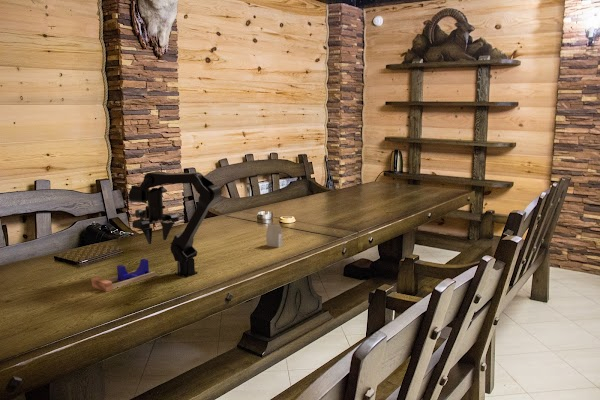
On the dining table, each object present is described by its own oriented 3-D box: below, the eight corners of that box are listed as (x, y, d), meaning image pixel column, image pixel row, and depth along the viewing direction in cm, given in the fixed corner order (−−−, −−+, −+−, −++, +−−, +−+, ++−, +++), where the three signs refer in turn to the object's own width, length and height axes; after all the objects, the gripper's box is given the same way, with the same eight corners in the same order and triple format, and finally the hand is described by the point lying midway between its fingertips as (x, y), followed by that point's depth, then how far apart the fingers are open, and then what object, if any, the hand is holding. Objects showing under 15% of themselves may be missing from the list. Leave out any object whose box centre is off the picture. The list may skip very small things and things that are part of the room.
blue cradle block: (124, 283, 206) (123, 267, 205) (117, 280, 208) (116, 265, 207) (151, 275, 215) (150, 260, 214) (144, 273, 218) (143, 258, 217)
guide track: (156, 275, 214) (156, 268, 213) (106, 291, 196) (106, 283, 196) (142, 271, 219) (141, 264, 219) (92, 286, 201) (91, 278, 201)
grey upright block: (278, 247, 255) (278, 226, 253) (266, 245, 258) (266, 225, 257) (282, 245, 258) (282, 225, 257) (270, 243, 262) (270, 223, 260)
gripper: (160, 198, 227) (162, 234, 230) (122, 204, 213) (124, 243, 215) (178, 200, 221) (180, 238, 224) (140, 208, 206) (142, 248, 209)
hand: (157, 241), depth 218 cm, fingers open, 7 cm apart
